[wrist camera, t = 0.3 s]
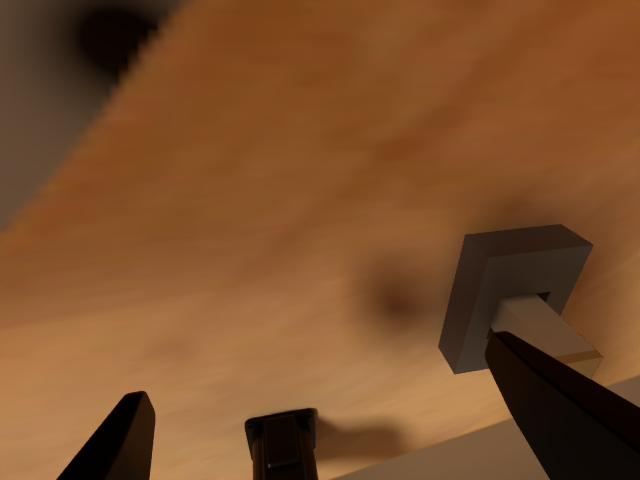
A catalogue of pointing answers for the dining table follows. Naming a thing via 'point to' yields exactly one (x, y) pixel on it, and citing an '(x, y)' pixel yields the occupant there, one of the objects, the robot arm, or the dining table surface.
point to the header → (506, 283)
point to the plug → (545, 332)
